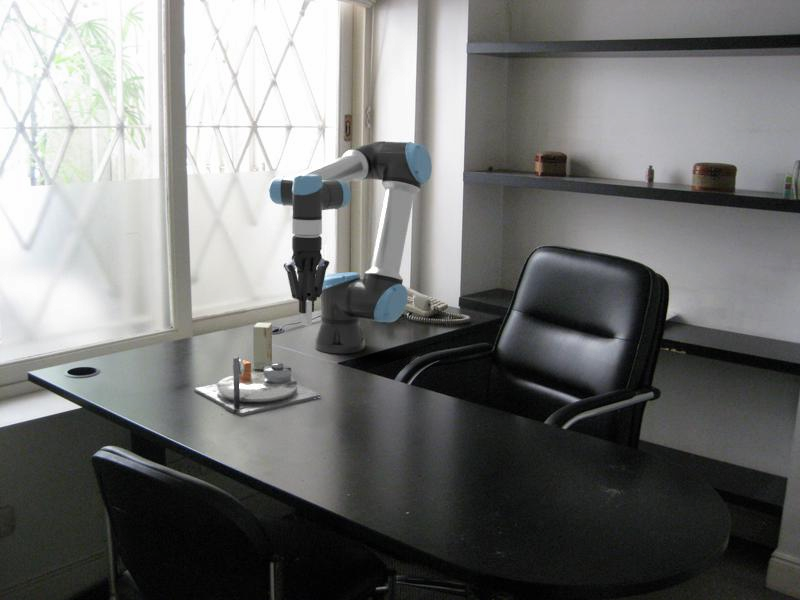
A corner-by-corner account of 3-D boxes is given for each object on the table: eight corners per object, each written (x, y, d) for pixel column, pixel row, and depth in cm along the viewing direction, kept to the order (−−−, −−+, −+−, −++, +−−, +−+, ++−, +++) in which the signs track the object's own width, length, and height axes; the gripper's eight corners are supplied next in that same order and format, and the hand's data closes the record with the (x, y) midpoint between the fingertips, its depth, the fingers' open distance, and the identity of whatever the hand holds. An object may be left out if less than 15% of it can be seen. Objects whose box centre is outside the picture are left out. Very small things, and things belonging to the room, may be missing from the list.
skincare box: (268, 370, 238) (268, 327, 235) (253, 369, 238) (252, 327, 235) (272, 363, 244) (272, 322, 242) (257, 363, 244) (257, 321, 242)
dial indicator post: (236, 404, 210) (236, 353, 207) (248, 410, 206) (247, 358, 203) (222, 407, 207) (221, 355, 204) (233, 413, 203) (233, 361, 200)
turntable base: (271, 375, 233) (271, 371, 233) (320, 397, 216) (320, 393, 216) (194, 391, 218) (194, 387, 218) (241, 416, 201) (240, 411, 201)
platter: (269, 372, 231) (269, 353, 230) (312, 391, 216) (312, 371, 215) (202, 386, 218) (202, 366, 217) (243, 407, 203) (243, 385, 202)
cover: (281, 374, 225) (281, 358, 224) (296, 380, 220) (296, 365, 219) (258, 378, 221) (258, 363, 220) (273, 385, 216) (273, 369, 215)
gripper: (319, 232, 225) (318, 318, 230) (277, 235, 217) (277, 325, 222) (336, 235, 220) (335, 324, 225) (293, 238, 212) (293, 331, 216)
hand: (306, 324), depth 223 cm, fingers closed
